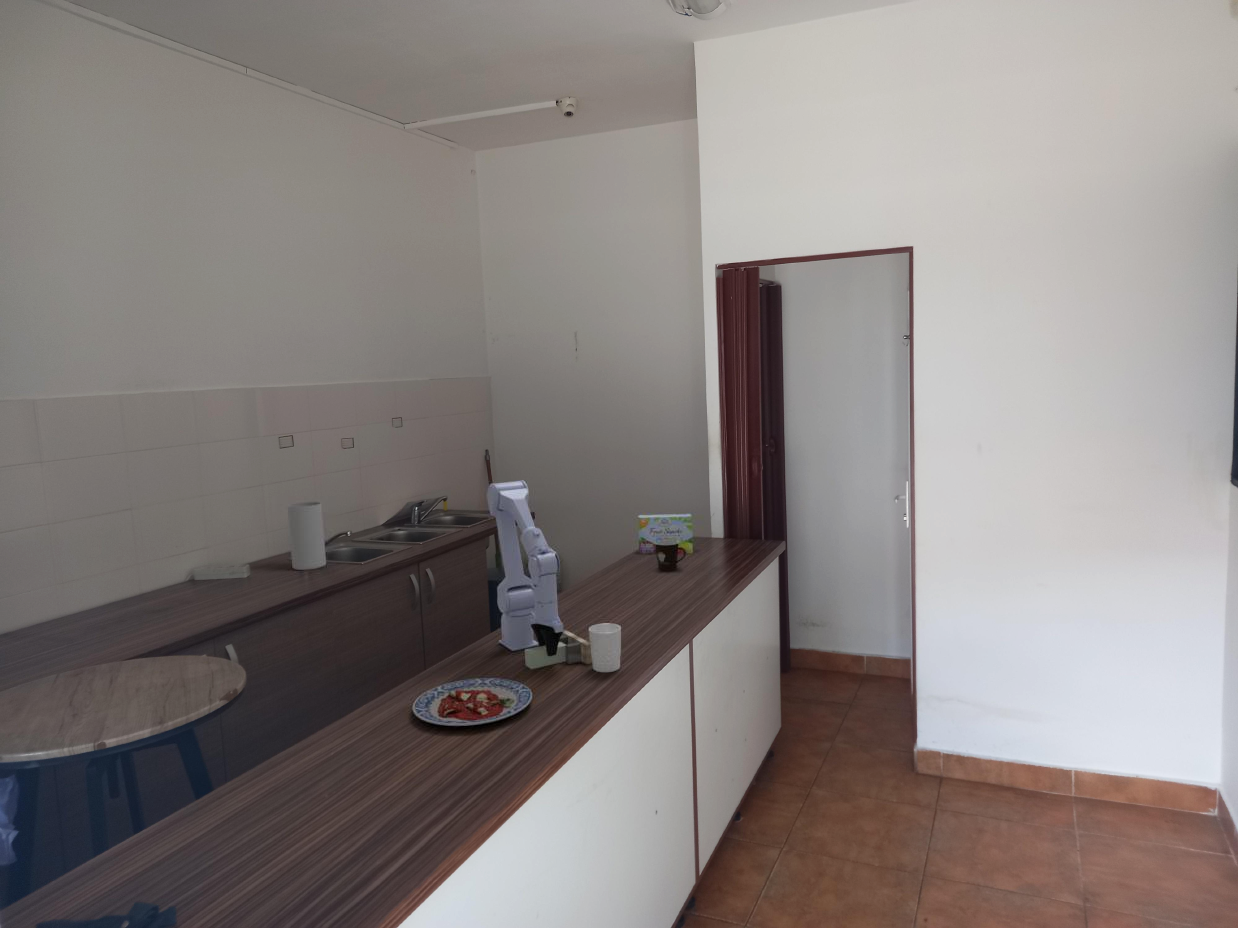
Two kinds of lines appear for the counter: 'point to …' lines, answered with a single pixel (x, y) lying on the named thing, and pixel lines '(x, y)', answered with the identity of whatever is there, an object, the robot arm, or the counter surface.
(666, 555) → the coffee mug
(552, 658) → the block
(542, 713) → the counter surface
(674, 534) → the snack box
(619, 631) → the white cup
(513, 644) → the robot arm
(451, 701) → the ceramic plate
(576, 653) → the wooden base
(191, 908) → the counter surface
